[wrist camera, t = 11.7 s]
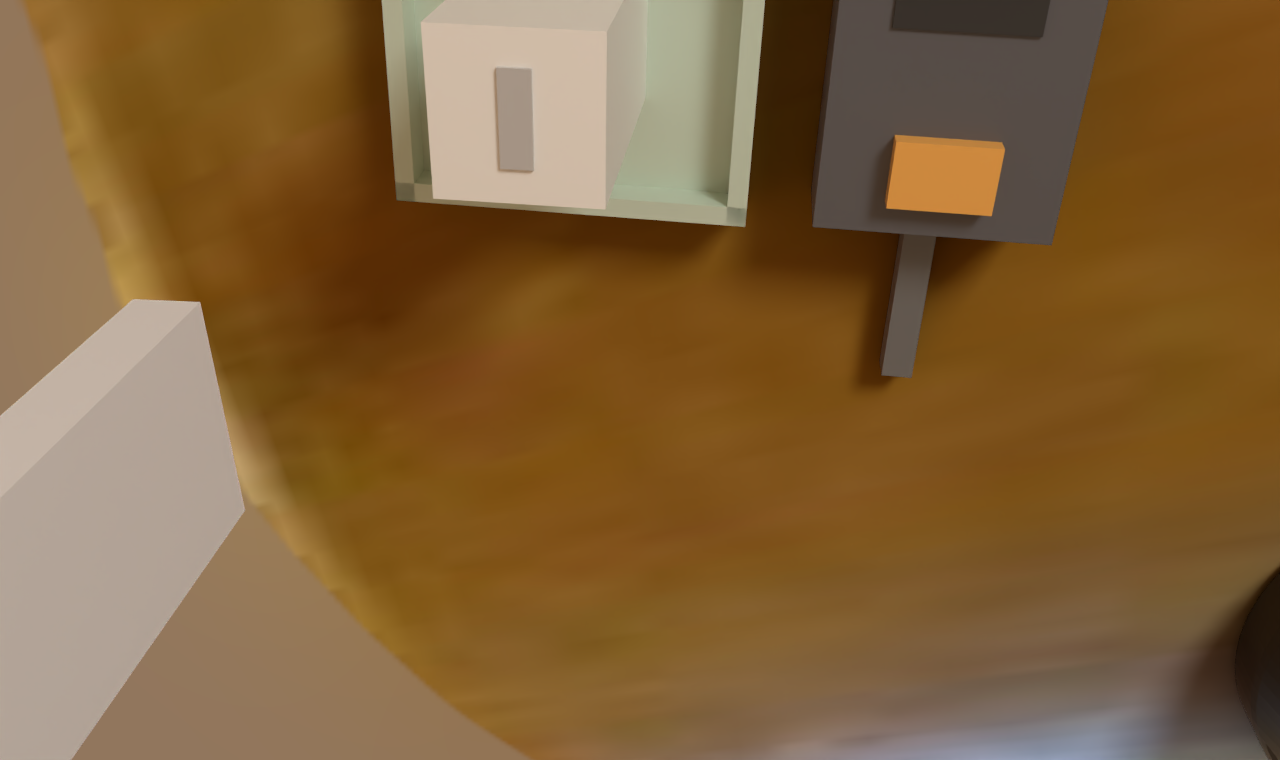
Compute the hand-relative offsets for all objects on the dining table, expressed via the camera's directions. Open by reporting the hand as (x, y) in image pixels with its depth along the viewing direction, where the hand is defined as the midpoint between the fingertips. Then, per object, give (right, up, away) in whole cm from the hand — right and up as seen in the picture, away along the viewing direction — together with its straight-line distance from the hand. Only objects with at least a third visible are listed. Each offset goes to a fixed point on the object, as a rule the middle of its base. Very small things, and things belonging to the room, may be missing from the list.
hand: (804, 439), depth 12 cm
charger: (-4, +11, +22) cm, 25 cm away
